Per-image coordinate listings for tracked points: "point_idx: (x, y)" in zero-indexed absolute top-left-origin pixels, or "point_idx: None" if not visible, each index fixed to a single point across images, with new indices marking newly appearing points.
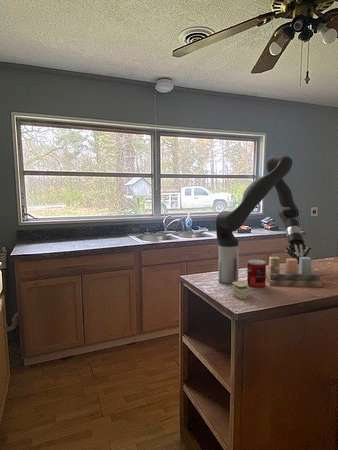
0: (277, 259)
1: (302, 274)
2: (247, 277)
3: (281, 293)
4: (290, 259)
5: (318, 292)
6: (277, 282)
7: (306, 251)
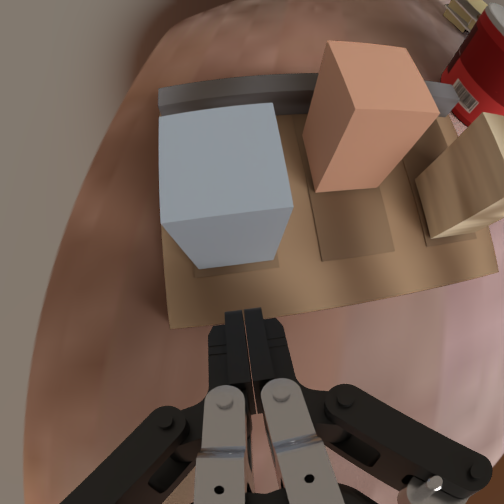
0: (491, 119)
1: (275, 84)
2: None
3: (365, 26)
4: (395, 73)
5: (216, 40)
6: None
7: (131, 478)
